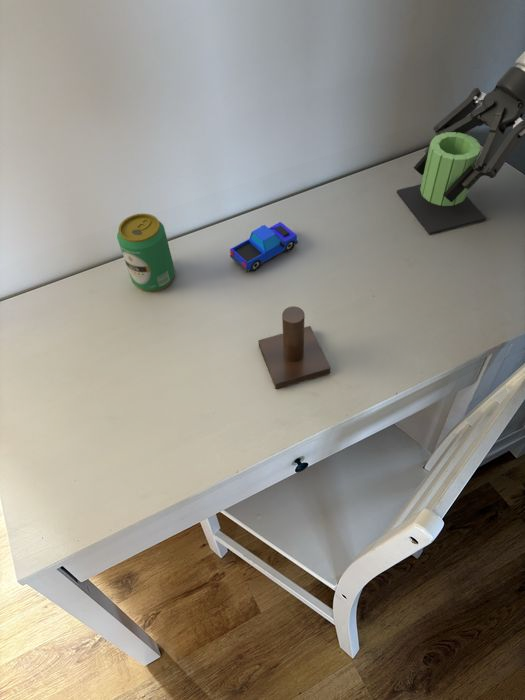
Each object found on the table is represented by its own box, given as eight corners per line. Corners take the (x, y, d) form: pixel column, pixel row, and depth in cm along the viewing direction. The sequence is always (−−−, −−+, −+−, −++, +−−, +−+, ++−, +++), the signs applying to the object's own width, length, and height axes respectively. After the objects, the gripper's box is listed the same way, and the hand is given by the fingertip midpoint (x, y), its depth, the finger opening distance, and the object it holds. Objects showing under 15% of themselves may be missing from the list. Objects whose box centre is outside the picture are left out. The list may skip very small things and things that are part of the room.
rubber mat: (485, 220, 103) (486, 217, 103) (429, 235, 102) (429, 232, 101) (449, 179, 112) (449, 176, 111) (396, 192, 110) (396, 189, 109)
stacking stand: (330, 373, 84) (334, 329, 75) (275, 389, 82) (273, 346, 74) (310, 331, 89) (311, 285, 80) (258, 345, 88) (254, 300, 79)
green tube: (457, 211, 100) (471, 164, 92) (414, 198, 103) (423, 151, 95) (472, 185, 105) (486, 139, 97) (429, 173, 108) (440, 127, 100)
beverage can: (123, 285, 98) (105, 234, 88) (149, 257, 102) (133, 206, 92) (159, 299, 95) (144, 248, 86) (184, 270, 99) (172, 218, 90)
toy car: (300, 249, 101) (300, 228, 97) (249, 278, 97) (247, 258, 93) (278, 231, 104) (277, 210, 101) (228, 258, 100) (225, 238, 97)
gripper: (581, 119, 88) (475, 224, 98) (496, 65, 101) (409, 163, 110) (569, 95, 83) (458, 210, 92) (480, 41, 95) (390, 147, 105)
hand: (432, 184), depth 101 cm, fingers closed on green tube, 9 cm apart
